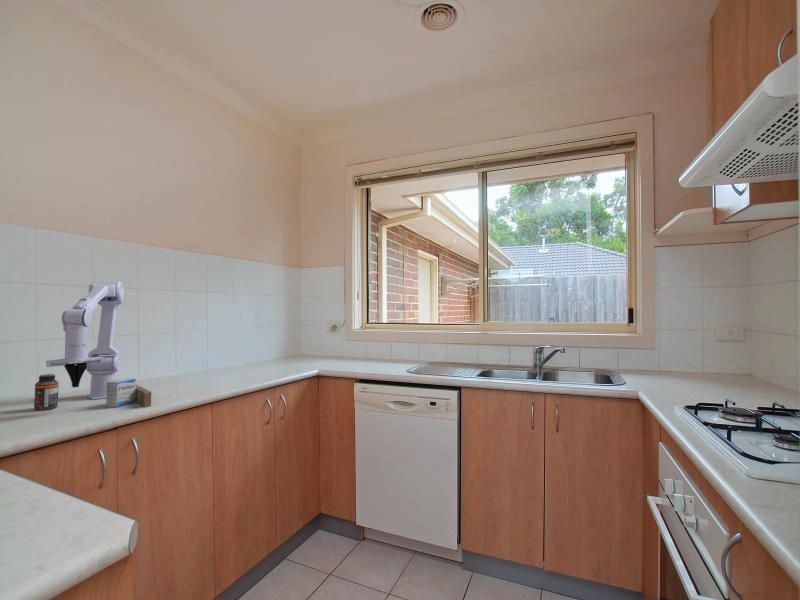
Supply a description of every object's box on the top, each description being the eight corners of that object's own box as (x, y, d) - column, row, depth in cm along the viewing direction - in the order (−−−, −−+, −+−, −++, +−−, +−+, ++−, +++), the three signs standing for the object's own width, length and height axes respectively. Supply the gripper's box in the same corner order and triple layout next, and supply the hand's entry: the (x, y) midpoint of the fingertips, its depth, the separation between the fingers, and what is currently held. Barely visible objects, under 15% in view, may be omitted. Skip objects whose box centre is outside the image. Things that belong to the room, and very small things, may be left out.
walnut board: (128, 397, 148) (128, 384, 148) (134, 397, 149) (134, 383, 150) (144, 407, 135) (144, 392, 135) (151, 406, 136) (151, 391, 136)
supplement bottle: (29, 409, 130) (30, 375, 130) (51, 405, 135) (52, 372, 136) (40, 411, 128) (41, 376, 128) (61, 407, 133) (62, 374, 133)
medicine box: (116, 407, 134) (117, 382, 134) (105, 407, 135) (106, 381, 135) (136, 402, 142) (136, 378, 142) (125, 401, 142) (126, 377, 142)
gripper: (48, 347, 121) (47, 392, 121) (106, 344, 132) (105, 385, 131) (45, 346, 126) (44, 388, 125) (101, 343, 136) (100, 382, 136)
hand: (75, 386), depth 129 cm, fingers closed
